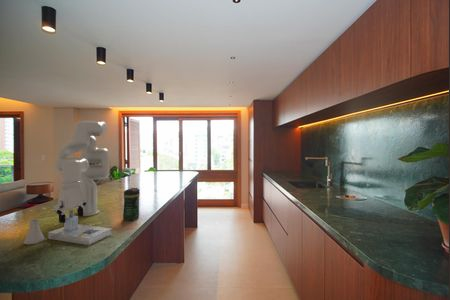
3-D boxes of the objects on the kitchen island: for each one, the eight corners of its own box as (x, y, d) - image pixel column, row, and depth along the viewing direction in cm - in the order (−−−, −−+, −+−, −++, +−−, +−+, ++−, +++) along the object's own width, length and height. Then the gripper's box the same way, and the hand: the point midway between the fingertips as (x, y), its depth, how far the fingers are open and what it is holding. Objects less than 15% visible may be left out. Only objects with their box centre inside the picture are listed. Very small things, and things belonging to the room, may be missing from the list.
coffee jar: (134, 221, 134) (134, 189, 134) (121, 221, 134) (121, 189, 134) (141, 216, 144) (141, 187, 143) (129, 216, 144) (129, 186, 144)
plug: (64, 236, 111) (64, 211, 111) (71, 233, 115) (71, 209, 114) (71, 237, 110) (71, 212, 109) (78, 234, 113) (79, 210, 113)
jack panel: (48, 238, 108) (48, 230, 108) (73, 229, 120) (73, 222, 120) (88, 245, 101) (89, 237, 101) (111, 234, 113) (111, 227, 113)
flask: (31, 238, 107) (31, 217, 107) (48, 238, 108) (48, 217, 108) (19, 245, 100) (19, 222, 100) (36, 245, 101) (37, 222, 101)
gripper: (81, 181, 121) (81, 213, 122) (47, 187, 105) (48, 224, 105) (92, 182, 119) (92, 214, 120) (60, 188, 103) (60, 226, 103)
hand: (71, 219), depth 113 cm, fingers open, 9 cm apart
